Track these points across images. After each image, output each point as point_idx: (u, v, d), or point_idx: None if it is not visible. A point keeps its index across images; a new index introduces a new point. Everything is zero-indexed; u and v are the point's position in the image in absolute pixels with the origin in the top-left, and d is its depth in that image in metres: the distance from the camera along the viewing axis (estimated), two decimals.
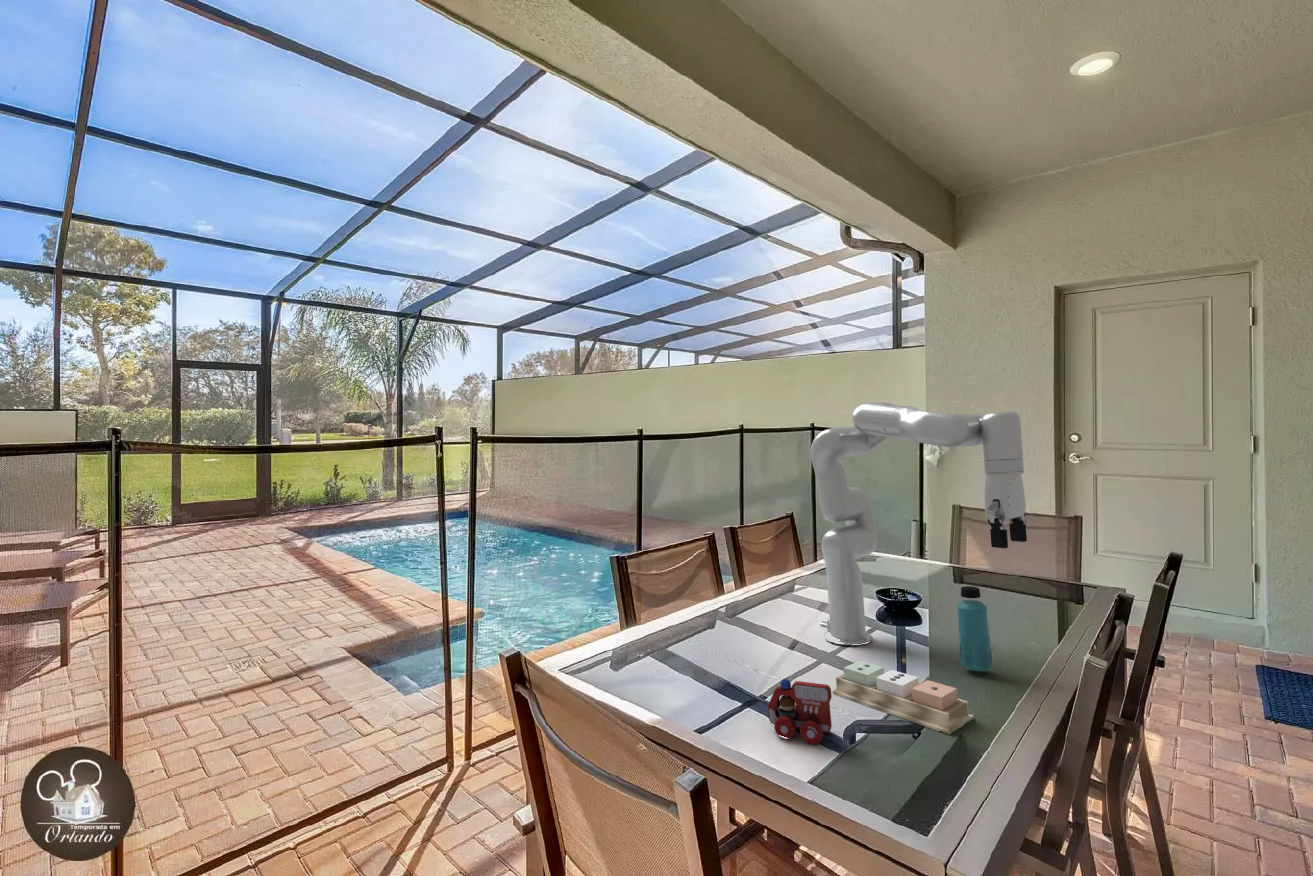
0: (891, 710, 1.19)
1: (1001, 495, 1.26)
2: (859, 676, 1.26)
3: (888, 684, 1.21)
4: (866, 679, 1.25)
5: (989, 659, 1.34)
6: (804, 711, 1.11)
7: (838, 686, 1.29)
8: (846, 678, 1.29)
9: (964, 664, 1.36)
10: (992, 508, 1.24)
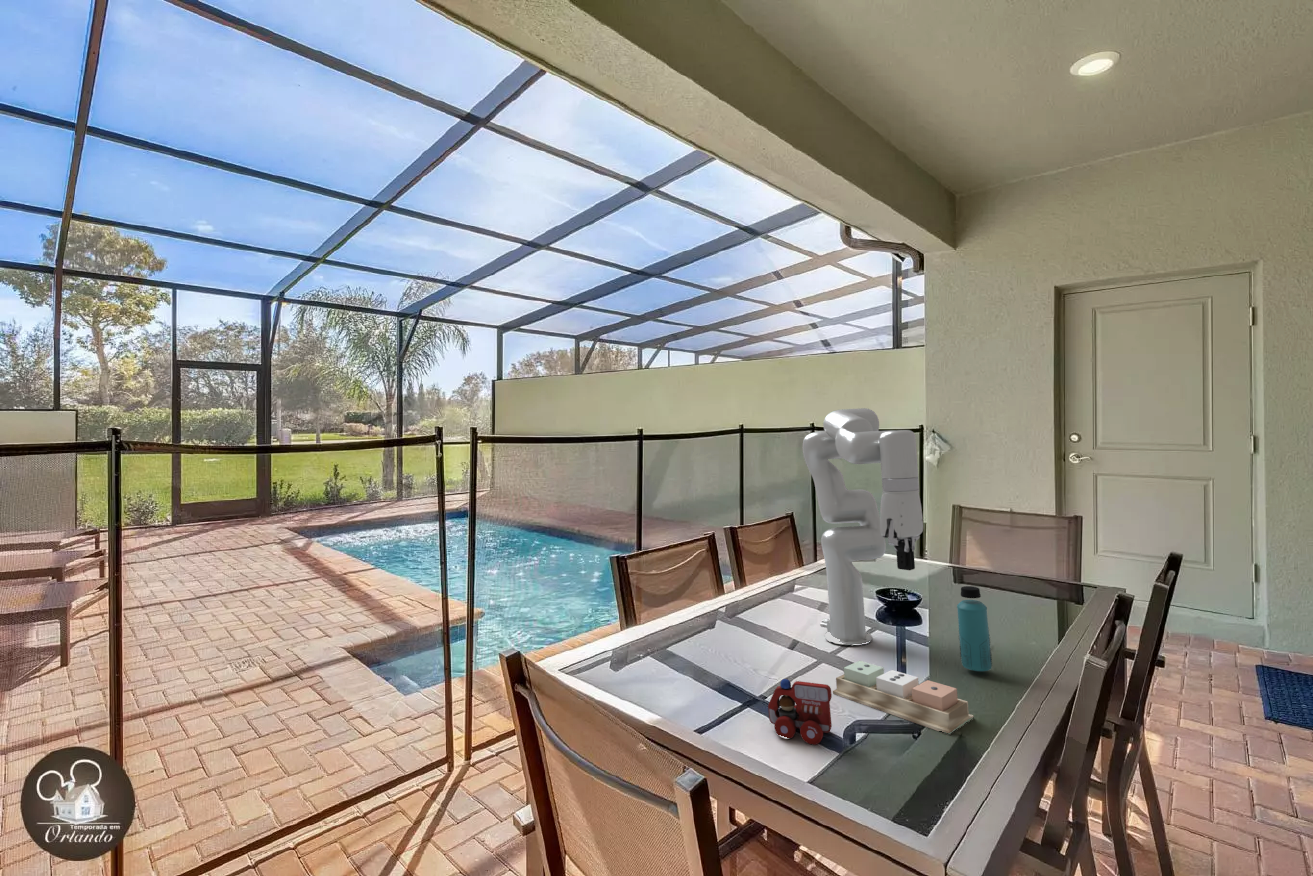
0: (891, 710, 1.19)
1: (894, 515, 1.25)
2: (859, 676, 1.26)
3: (888, 684, 1.21)
4: (866, 679, 1.25)
5: (989, 659, 1.34)
6: (804, 711, 1.11)
7: (838, 686, 1.29)
8: (846, 678, 1.29)
9: (964, 664, 1.36)
10: (892, 538, 1.25)
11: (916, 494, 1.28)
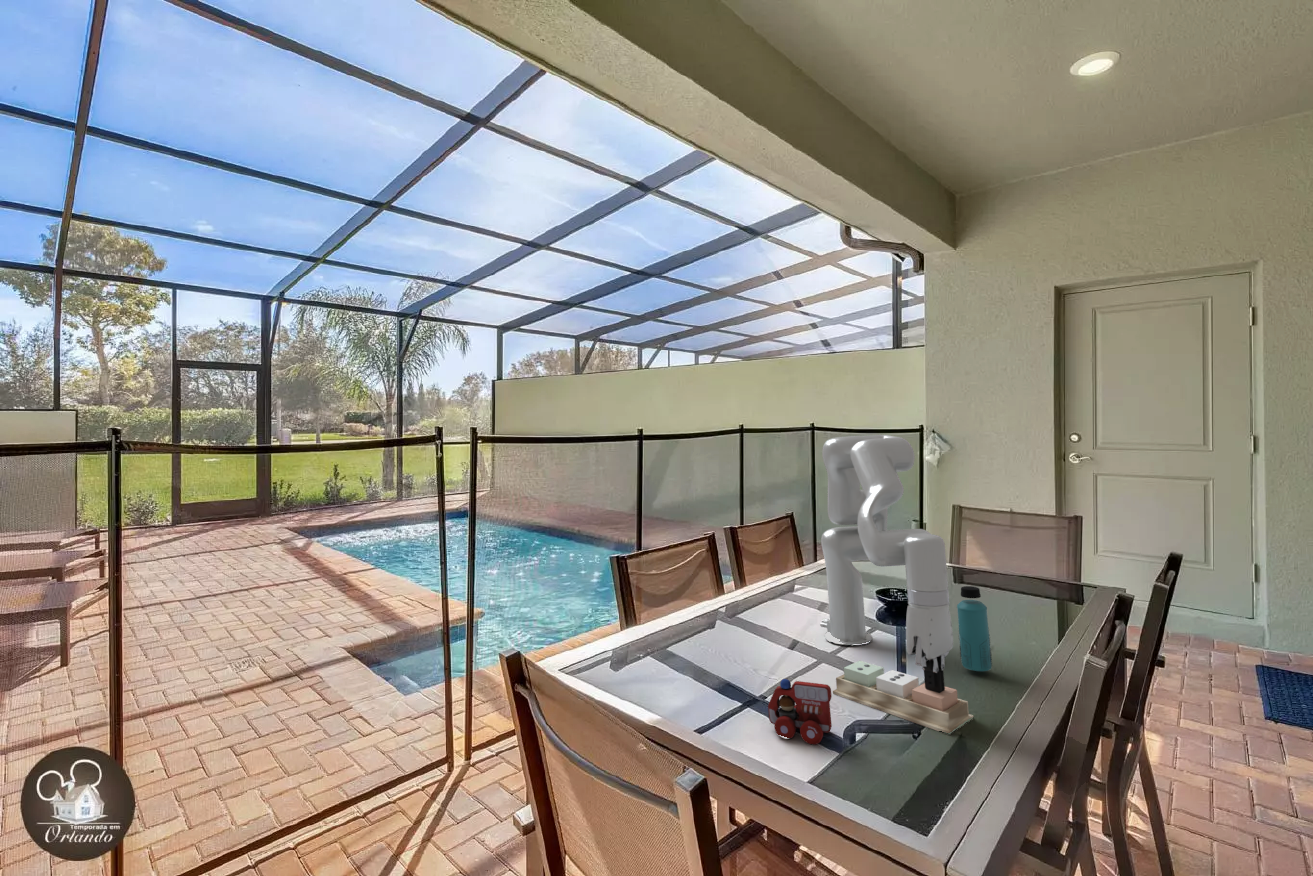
0: (891, 710, 1.19)
1: (922, 632, 1.12)
2: (859, 676, 1.26)
3: (888, 684, 1.21)
4: (866, 679, 1.25)
5: (989, 659, 1.34)
6: (804, 711, 1.11)
7: (838, 686, 1.29)
8: (846, 678, 1.29)
9: (964, 664, 1.36)
10: (919, 659, 1.12)
11: None
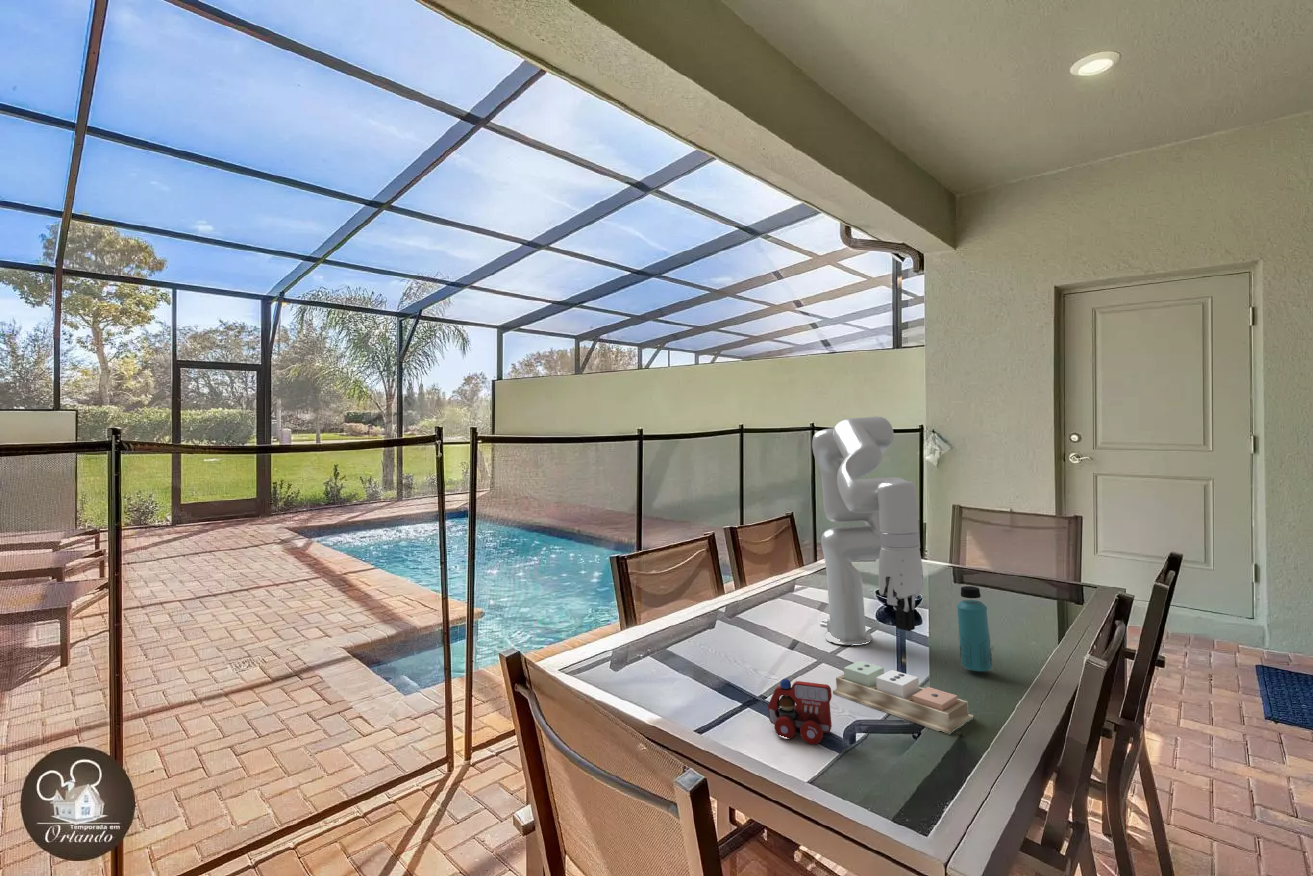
0: (891, 710, 1.19)
1: (893, 573, 1.17)
2: (859, 676, 1.26)
3: (888, 684, 1.21)
4: (866, 679, 1.25)
5: (989, 659, 1.34)
6: (804, 711, 1.11)
7: (838, 686, 1.29)
8: (846, 678, 1.29)
9: (964, 664, 1.36)
10: (891, 598, 1.17)
11: (916, 549, 1.20)
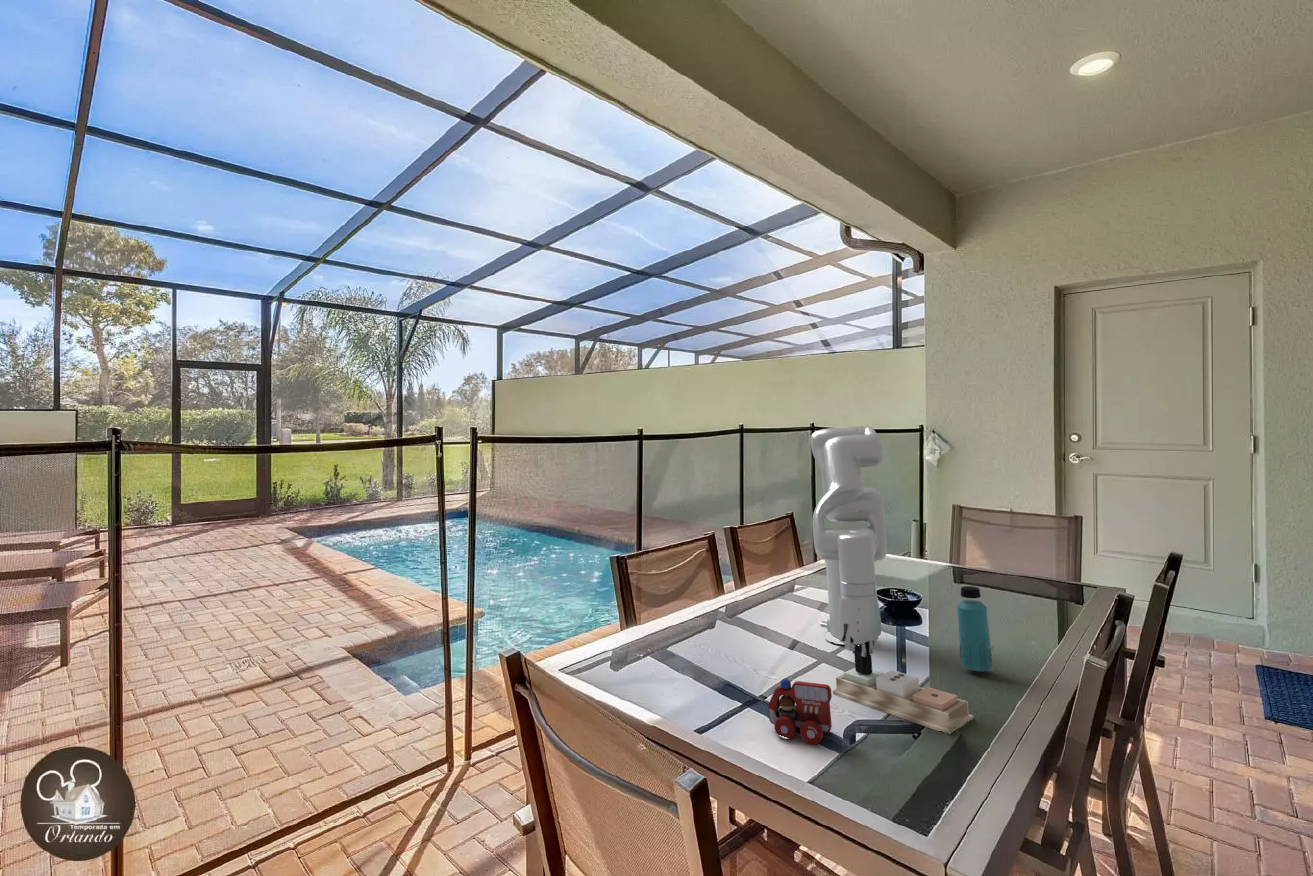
0: (891, 710, 1.19)
1: (851, 620, 1.25)
2: (860, 681, 1.26)
3: (888, 684, 1.21)
4: (867, 685, 1.25)
5: (989, 659, 1.34)
6: (804, 711, 1.11)
7: (838, 686, 1.29)
8: None
9: (964, 664, 1.36)
10: (848, 644, 1.25)
11: (874, 597, 1.28)
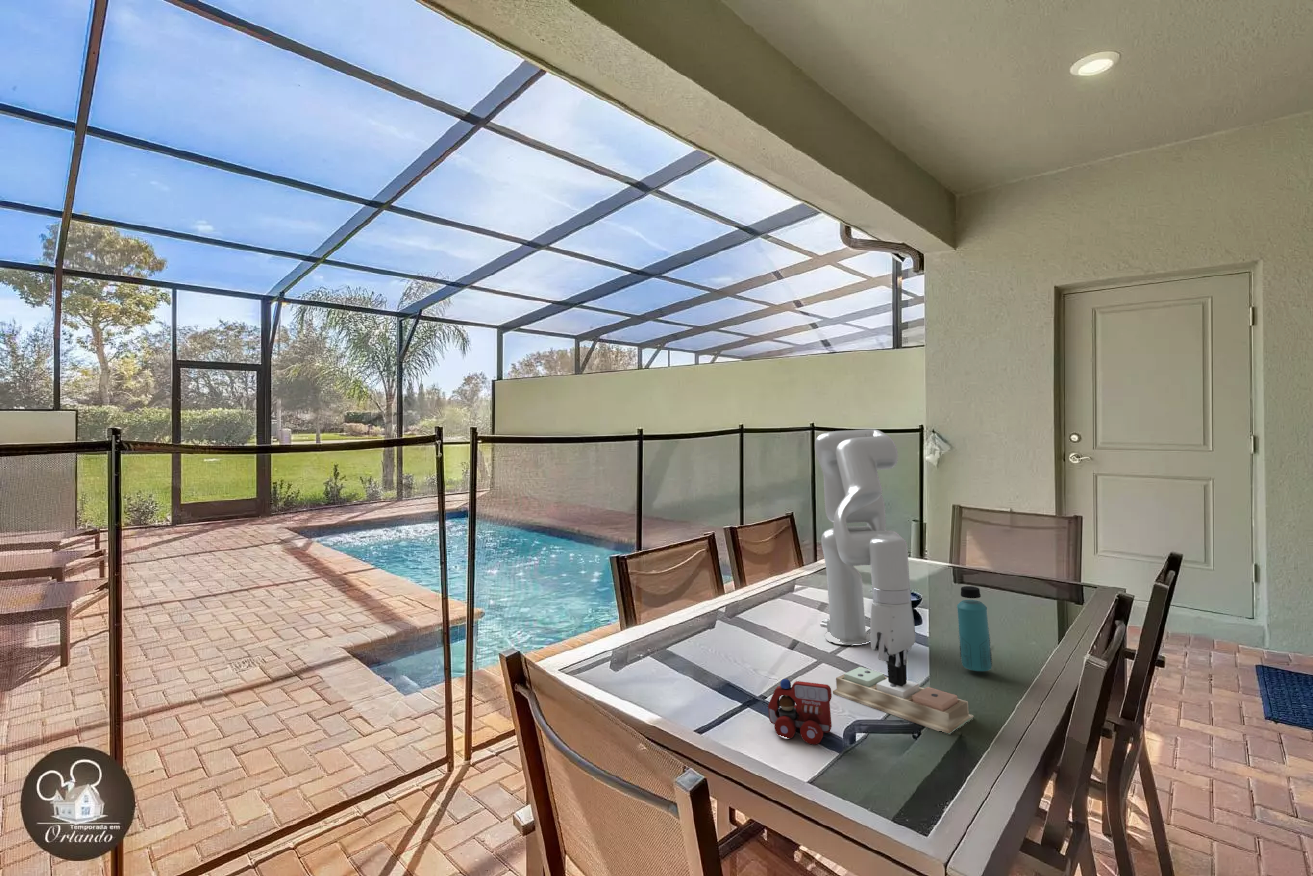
0: (891, 710, 1.19)
1: (884, 629, 1.19)
2: (860, 682, 1.26)
3: (888, 690, 1.21)
4: (867, 686, 1.25)
5: (989, 659, 1.34)
6: (804, 711, 1.11)
7: (838, 686, 1.29)
8: None
9: (964, 664, 1.36)
10: (882, 654, 1.19)
11: (908, 605, 1.22)
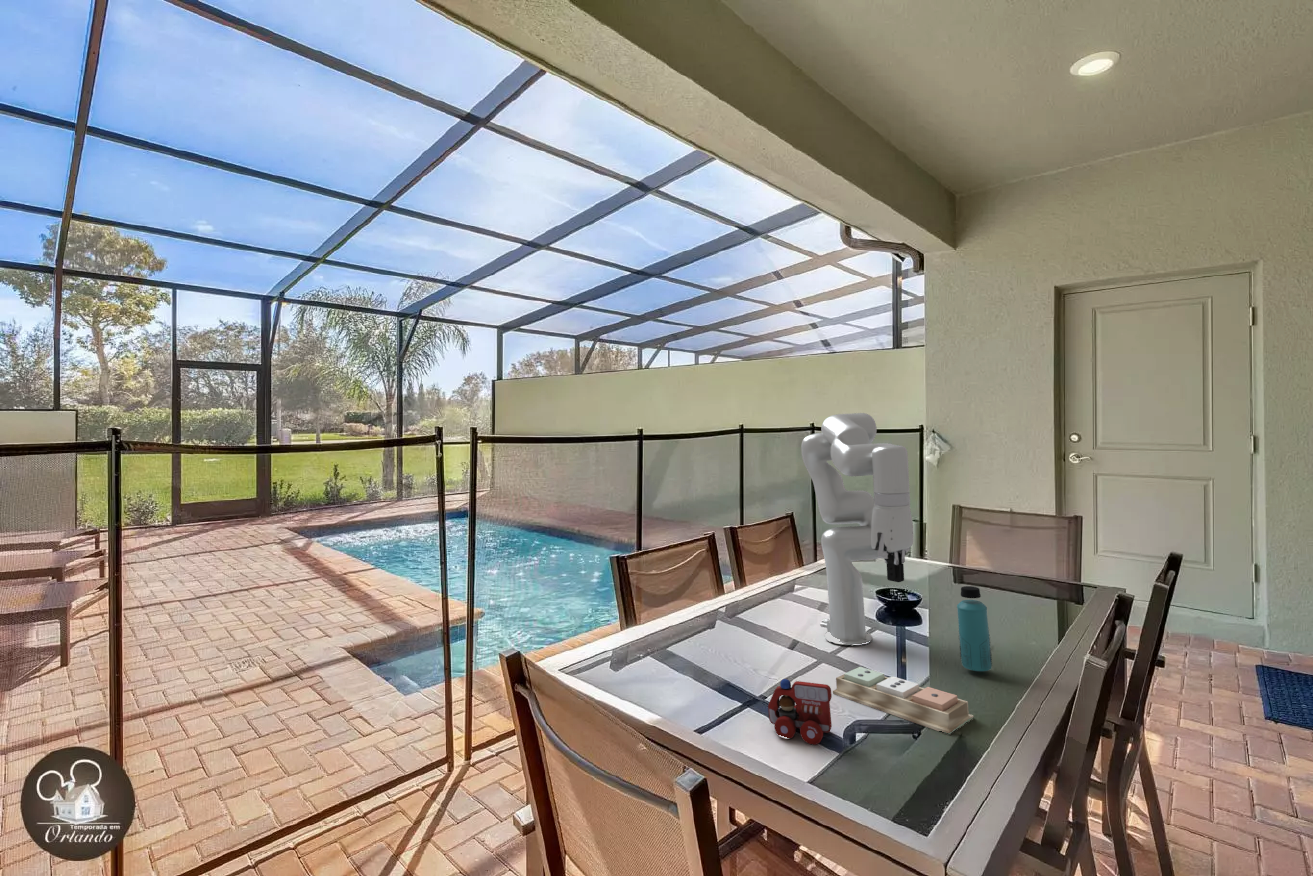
0: (891, 710, 1.19)
1: (884, 529, 1.28)
2: (860, 682, 1.26)
3: (888, 690, 1.21)
4: (867, 686, 1.25)
5: (989, 659, 1.34)
6: (804, 711, 1.11)
7: (838, 686, 1.29)
8: None
9: (964, 664, 1.36)
10: (881, 552, 1.28)
11: (907, 508, 1.31)
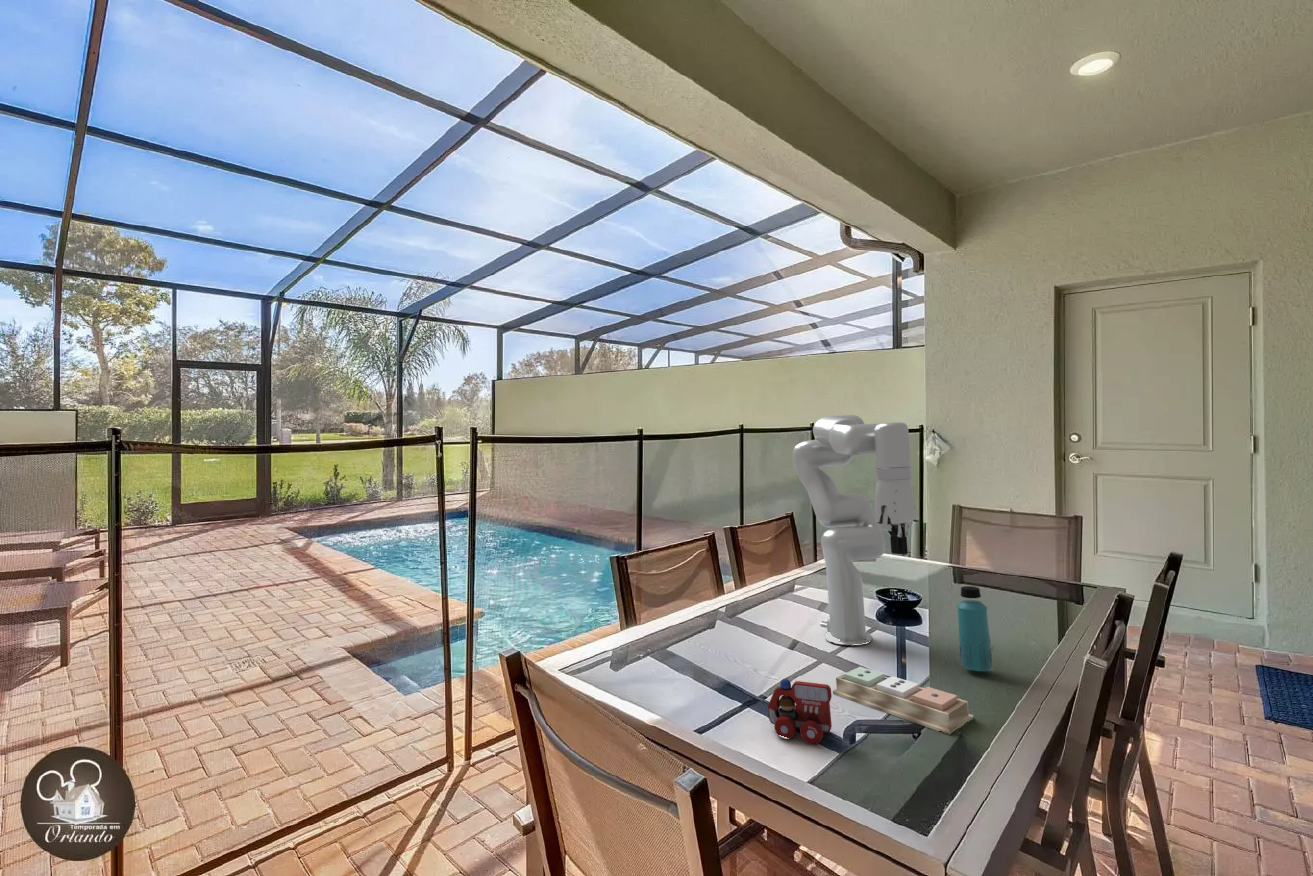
0: (891, 710, 1.19)
1: (888, 502, 1.33)
2: (860, 682, 1.26)
3: (888, 690, 1.21)
4: (867, 686, 1.25)
5: (989, 659, 1.34)
6: (804, 711, 1.11)
7: (838, 686, 1.29)
8: None
9: (964, 664, 1.36)
10: (886, 524, 1.33)
11: (909, 483, 1.36)
